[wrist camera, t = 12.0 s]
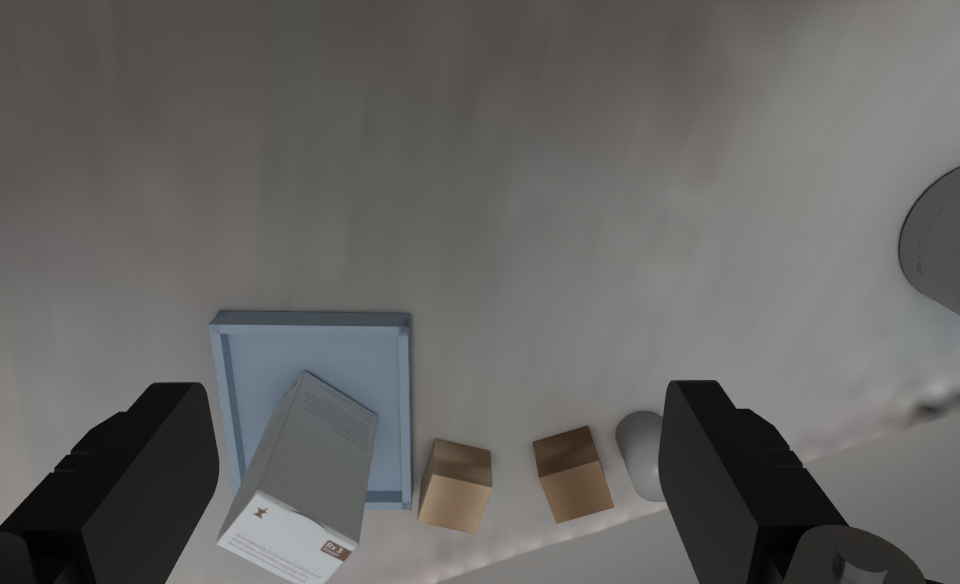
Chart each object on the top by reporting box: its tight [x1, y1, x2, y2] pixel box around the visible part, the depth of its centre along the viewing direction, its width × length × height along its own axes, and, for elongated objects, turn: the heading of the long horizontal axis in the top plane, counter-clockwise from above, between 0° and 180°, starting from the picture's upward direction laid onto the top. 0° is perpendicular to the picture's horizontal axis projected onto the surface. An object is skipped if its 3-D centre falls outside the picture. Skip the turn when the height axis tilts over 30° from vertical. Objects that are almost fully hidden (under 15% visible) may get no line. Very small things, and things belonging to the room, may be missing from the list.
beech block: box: [417, 438, 492, 534], centre depth 45 cm, size 4×4×4 cm
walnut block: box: [533, 426, 614, 524], centre depth 44 cm, size 4×4×4 cm
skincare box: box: [216, 371, 378, 584], centre depth 38 cm, size 6×4×12 cm
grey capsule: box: [616, 411, 666, 502], centre depth 43 cm, size 4×4×5 cm
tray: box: [209, 311, 413, 509], centre depth 43 cm, size 12×14×2 cm
